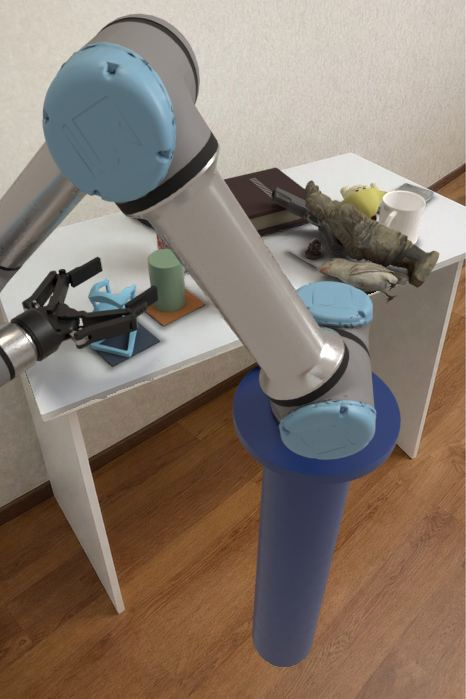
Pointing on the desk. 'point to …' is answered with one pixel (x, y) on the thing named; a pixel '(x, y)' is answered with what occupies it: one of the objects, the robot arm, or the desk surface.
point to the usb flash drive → (145, 221)
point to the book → (266, 199)
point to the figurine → (313, 250)
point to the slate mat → (121, 342)
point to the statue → (370, 237)
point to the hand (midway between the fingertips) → (127, 277)
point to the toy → (364, 198)
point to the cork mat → (169, 317)
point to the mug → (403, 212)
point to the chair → (110, 303)
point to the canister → (167, 280)
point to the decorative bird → (364, 275)
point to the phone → (415, 189)
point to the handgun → (308, 218)
